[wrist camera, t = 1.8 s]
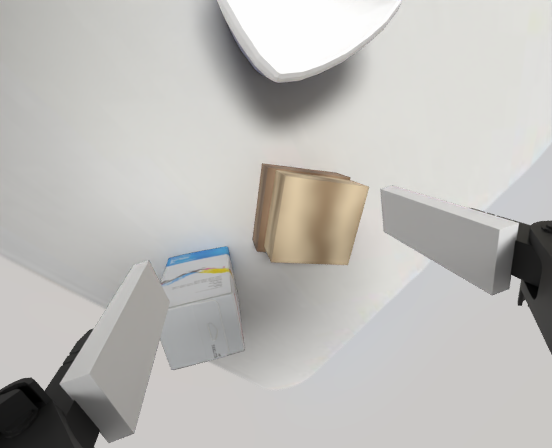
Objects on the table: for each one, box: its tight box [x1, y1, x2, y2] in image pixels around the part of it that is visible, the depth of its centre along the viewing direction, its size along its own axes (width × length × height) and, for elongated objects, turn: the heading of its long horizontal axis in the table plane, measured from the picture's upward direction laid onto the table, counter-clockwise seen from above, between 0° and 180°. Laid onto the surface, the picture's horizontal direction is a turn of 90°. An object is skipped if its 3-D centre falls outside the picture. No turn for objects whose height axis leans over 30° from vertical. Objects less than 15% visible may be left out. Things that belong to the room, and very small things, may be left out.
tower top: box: [264, 170, 369, 265], centre depth 31 cm, size 10×10×4 cm
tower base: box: [253, 163, 350, 252], centre depth 35 cm, size 11×11×4 cm
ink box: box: [160, 247, 245, 370], centre depth 32 cm, size 9×8×12 cm
